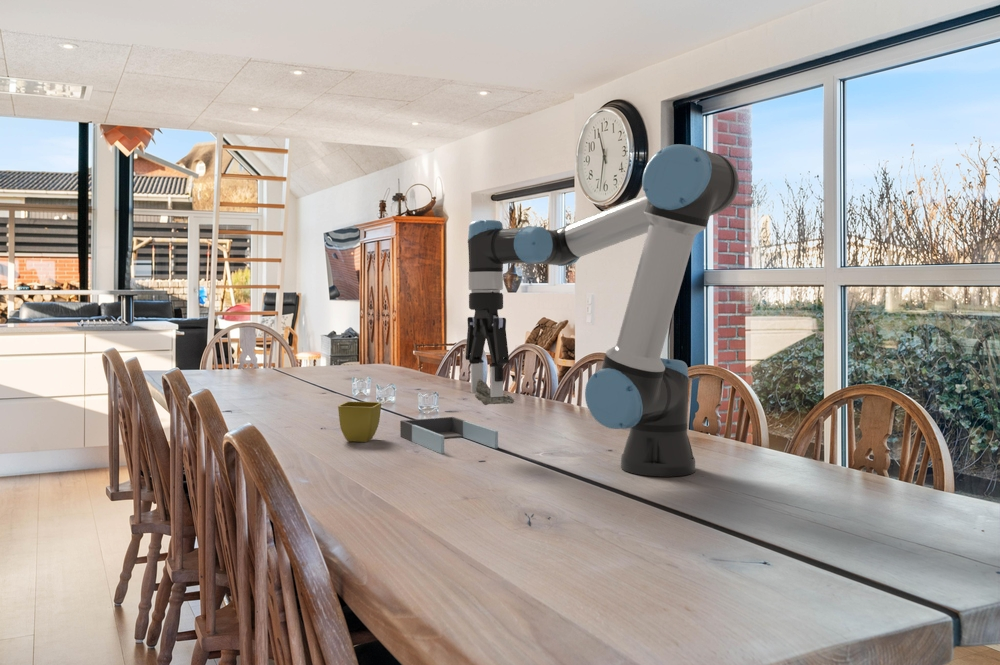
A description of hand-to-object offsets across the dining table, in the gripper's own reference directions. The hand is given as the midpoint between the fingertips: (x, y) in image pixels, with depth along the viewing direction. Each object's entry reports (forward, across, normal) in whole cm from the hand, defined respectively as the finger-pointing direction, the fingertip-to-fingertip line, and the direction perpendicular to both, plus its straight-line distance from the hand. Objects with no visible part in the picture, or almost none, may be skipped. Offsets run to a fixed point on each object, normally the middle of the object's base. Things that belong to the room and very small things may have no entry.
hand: (486, 394), depth 181 cm
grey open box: (+13, +29, 0) cm, 32 cm away
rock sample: (+2, 0, -2) cm, 3 cm away
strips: (+14, +17, 0) cm, 22 cm away
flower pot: (+13, +32, +18) cm, 39 cm away
